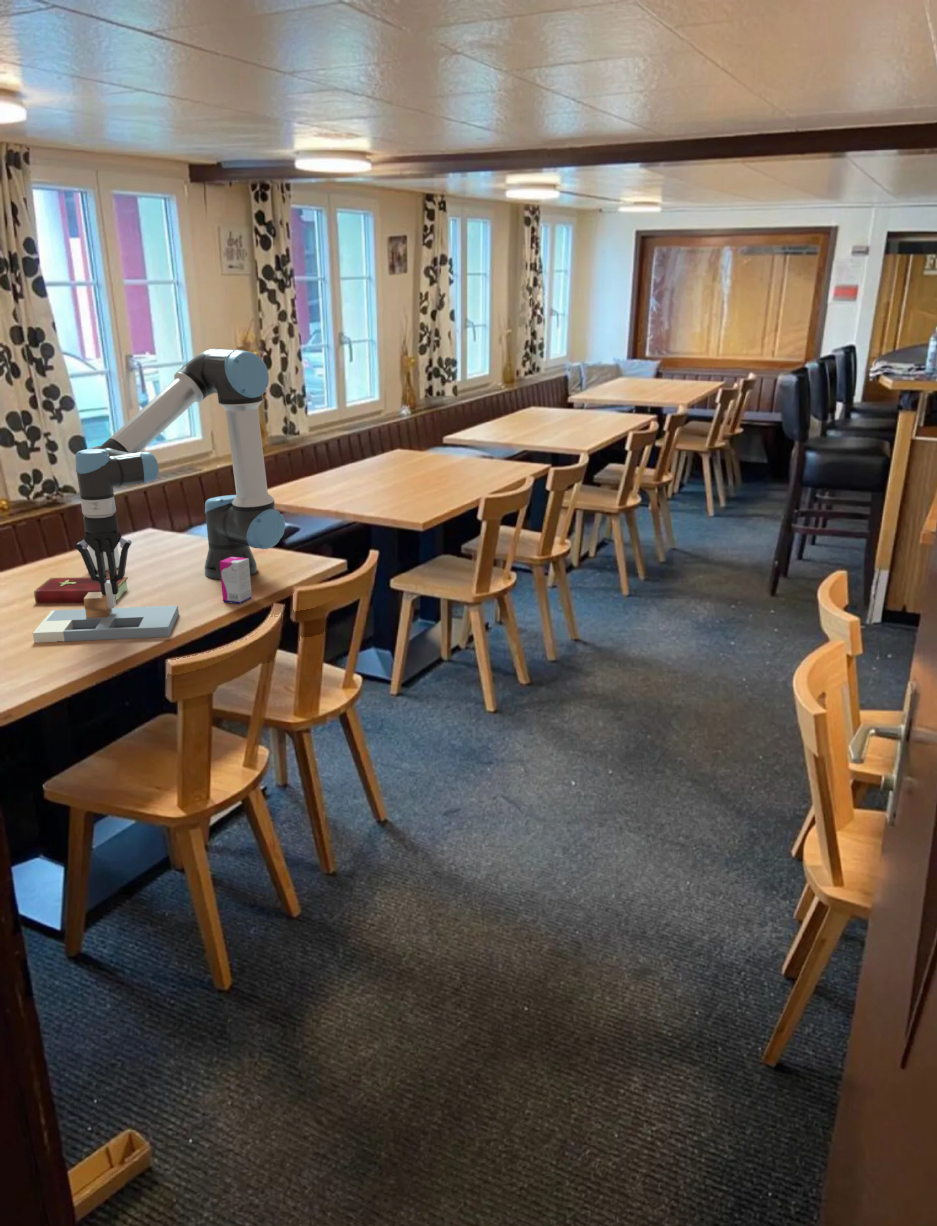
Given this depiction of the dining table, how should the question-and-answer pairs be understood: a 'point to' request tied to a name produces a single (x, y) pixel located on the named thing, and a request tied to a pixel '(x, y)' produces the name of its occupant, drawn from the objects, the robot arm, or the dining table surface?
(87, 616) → the block
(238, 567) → the supplement box
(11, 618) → the dining table surface
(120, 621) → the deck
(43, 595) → the hardcover book
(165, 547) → the dining table surface
